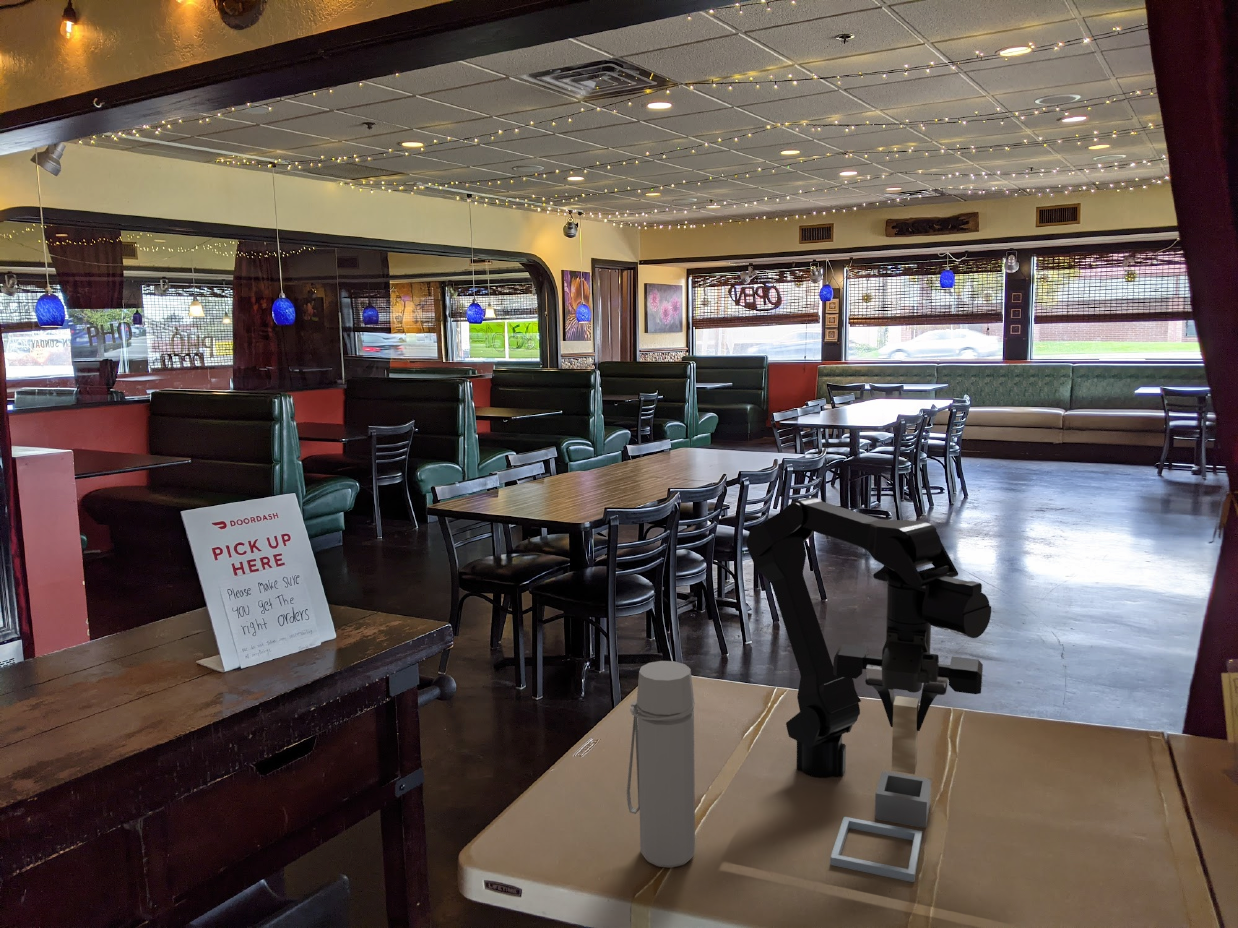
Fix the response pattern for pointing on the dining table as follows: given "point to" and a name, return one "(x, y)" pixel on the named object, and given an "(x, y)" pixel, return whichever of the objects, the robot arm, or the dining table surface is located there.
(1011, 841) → the dining table surface
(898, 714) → the peg
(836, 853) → the grey flat frame
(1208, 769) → the dining table surface
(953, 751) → the dining table surface
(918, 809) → the block with square hole
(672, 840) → the water bottle
